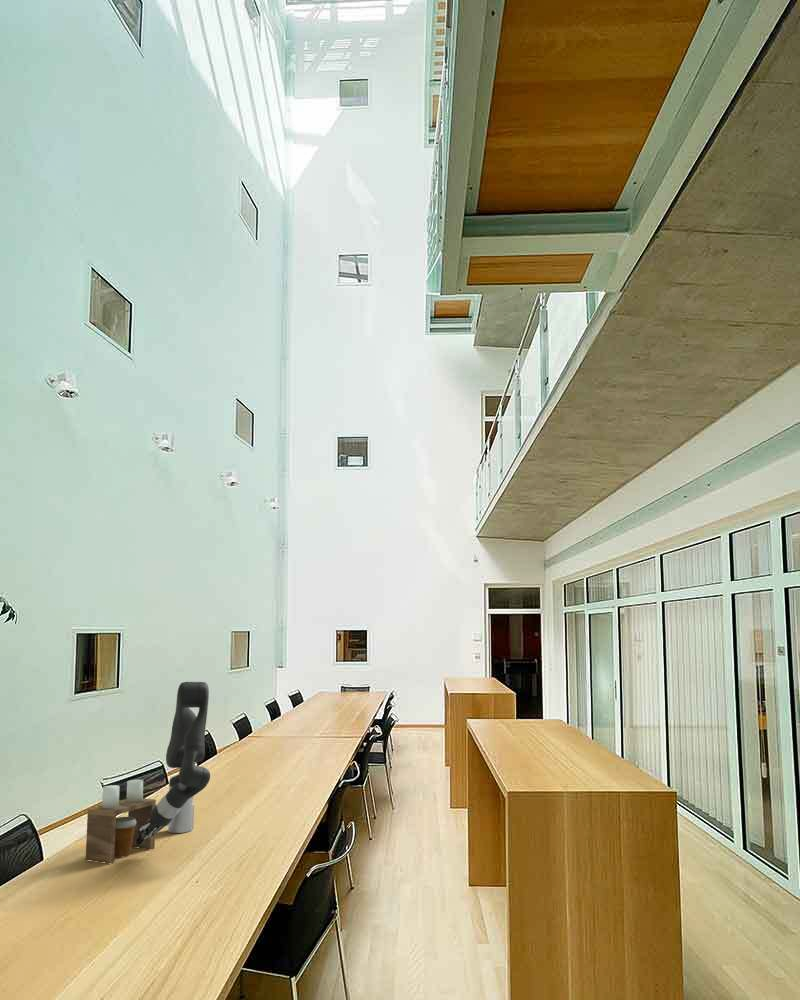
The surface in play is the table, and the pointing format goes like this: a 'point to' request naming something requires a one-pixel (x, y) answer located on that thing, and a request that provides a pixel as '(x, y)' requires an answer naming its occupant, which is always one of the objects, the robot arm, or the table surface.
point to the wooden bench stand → (104, 826)
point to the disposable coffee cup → (124, 835)
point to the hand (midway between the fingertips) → (138, 843)
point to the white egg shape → (134, 791)
